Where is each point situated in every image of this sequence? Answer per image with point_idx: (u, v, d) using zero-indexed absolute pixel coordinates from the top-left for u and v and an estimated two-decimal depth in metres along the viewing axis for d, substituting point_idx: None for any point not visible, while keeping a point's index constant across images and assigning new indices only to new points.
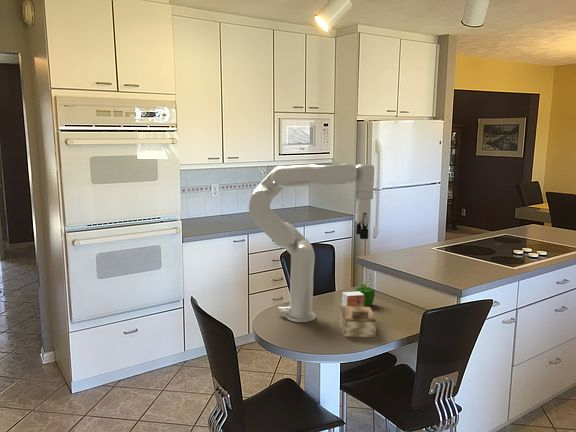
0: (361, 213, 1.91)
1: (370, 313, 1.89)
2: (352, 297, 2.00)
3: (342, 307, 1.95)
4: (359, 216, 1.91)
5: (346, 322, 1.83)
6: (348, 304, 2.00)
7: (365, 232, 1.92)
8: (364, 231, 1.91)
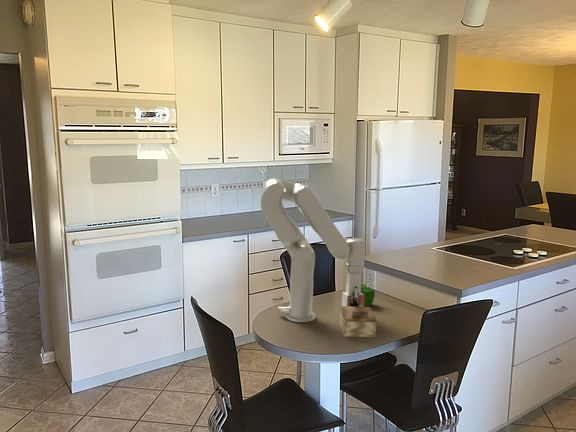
0: (352, 287, 1.98)
1: (370, 313, 1.89)
2: None
3: (342, 307, 1.95)
4: (350, 290, 1.98)
5: (346, 322, 1.83)
6: (348, 304, 2.00)
7: (355, 306, 1.99)
8: (354, 305, 1.99)
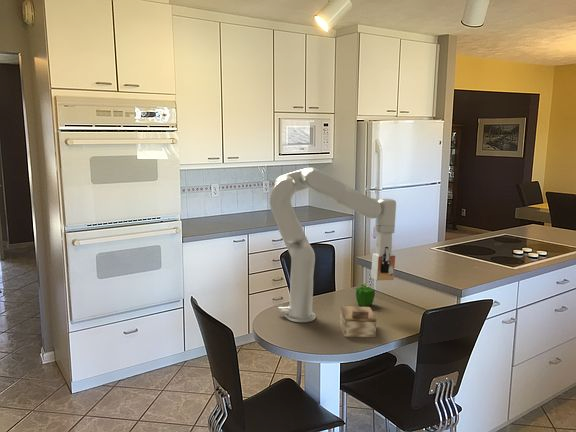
0: (383, 247, 1.96)
1: (370, 313, 1.89)
2: None
3: (342, 307, 1.95)
4: (381, 250, 1.96)
5: (346, 322, 1.83)
6: (379, 265, 1.99)
7: (386, 267, 1.98)
8: (385, 266, 1.98)
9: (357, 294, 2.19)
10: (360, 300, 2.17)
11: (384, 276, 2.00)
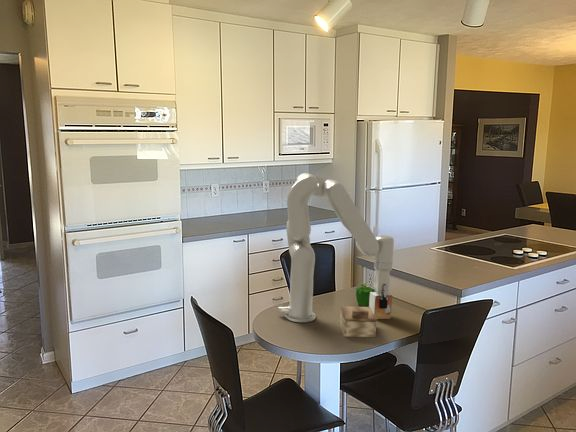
0: (381, 284, 1.98)
1: (370, 313, 1.89)
2: None
3: (342, 307, 1.95)
4: (379, 287, 1.99)
5: (346, 322, 1.83)
6: (376, 304, 2.01)
7: (384, 302, 1.99)
8: (383, 301, 1.99)
9: (357, 294, 2.19)
10: (360, 300, 2.17)
11: (381, 315, 2.03)
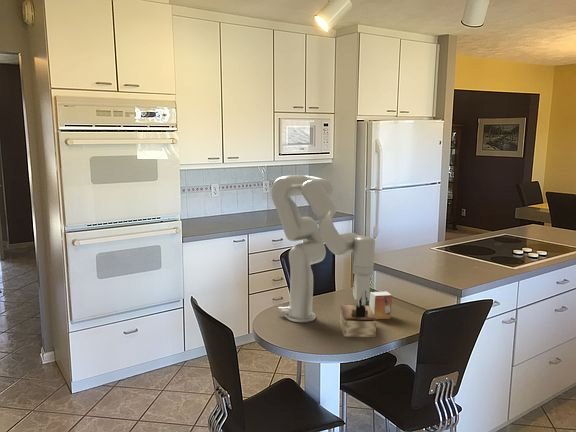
0: (360, 291, 1.77)
1: (369, 312, 1.91)
2: (380, 297, 2.01)
3: (342, 306, 1.97)
4: (358, 294, 1.77)
5: (346, 322, 1.83)
6: (376, 304, 2.01)
7: (362, 310, 1.81)
8: (361, 309, 1.81)
9: None
10: None
11: (381, 315, 2.03)
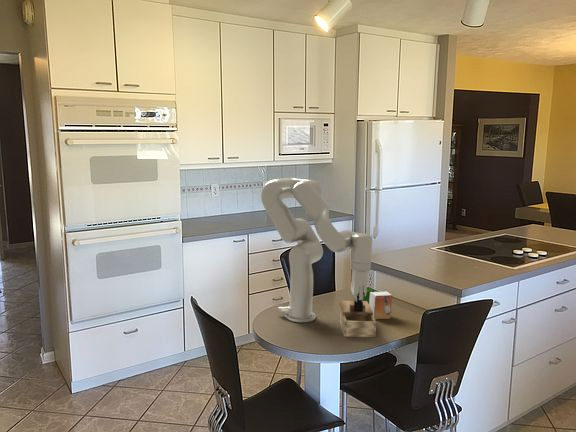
0: (357, 286, 1.82)
1: (367, 307, 1.96)
2: (380, 297, 2.01)
3: (340, 301, 2.02)
4: (355, 289, 1.83)
5: (346, 322, 1.83)
6: (376, 304, 2.01)
7: (359, 305, 1.87)
8: (358, 304, 1.87)
9: None
10: None
11: (381, 315, 2.03)
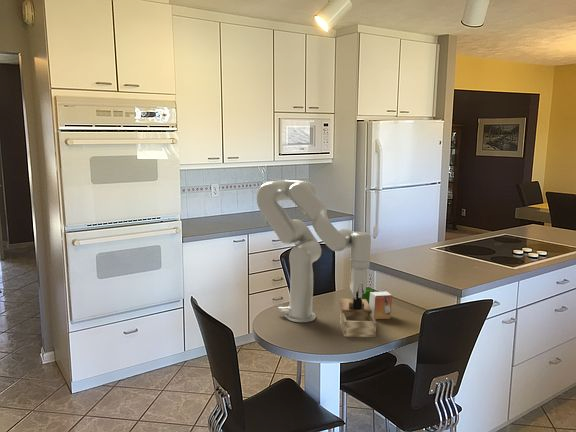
0: (357, 284, 1.85)
1: (366, 305, 1.99)
2: (380, 297, 2.01)
3: (339, 299, 2.05)
4: (354, 287, 1.85)
5: (346, 322, 1.83)
6: (376, 304, 2.01)
7: (359, 303, 1.90)
8: (358, 302, 1.90)
9: None
10: None
11: (381, 315, 2.03)
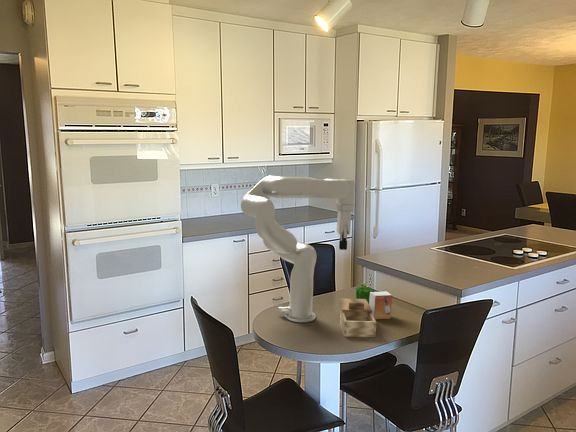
0: (342, 225, 2.04)
1: (366, 304, 1.99)
2: (380, 297, 2.01)
3: (339, 299, 2.05)
4: (340, 228, 2.04)
5: (346, 322, 1.83)
6: (376, 304, 2.01)
7: (344, 243, 2.09)
8: (343, 242, 2.09)
9: (357, 294, 2.19)
10: None
11: (381, 315, 2.03)
